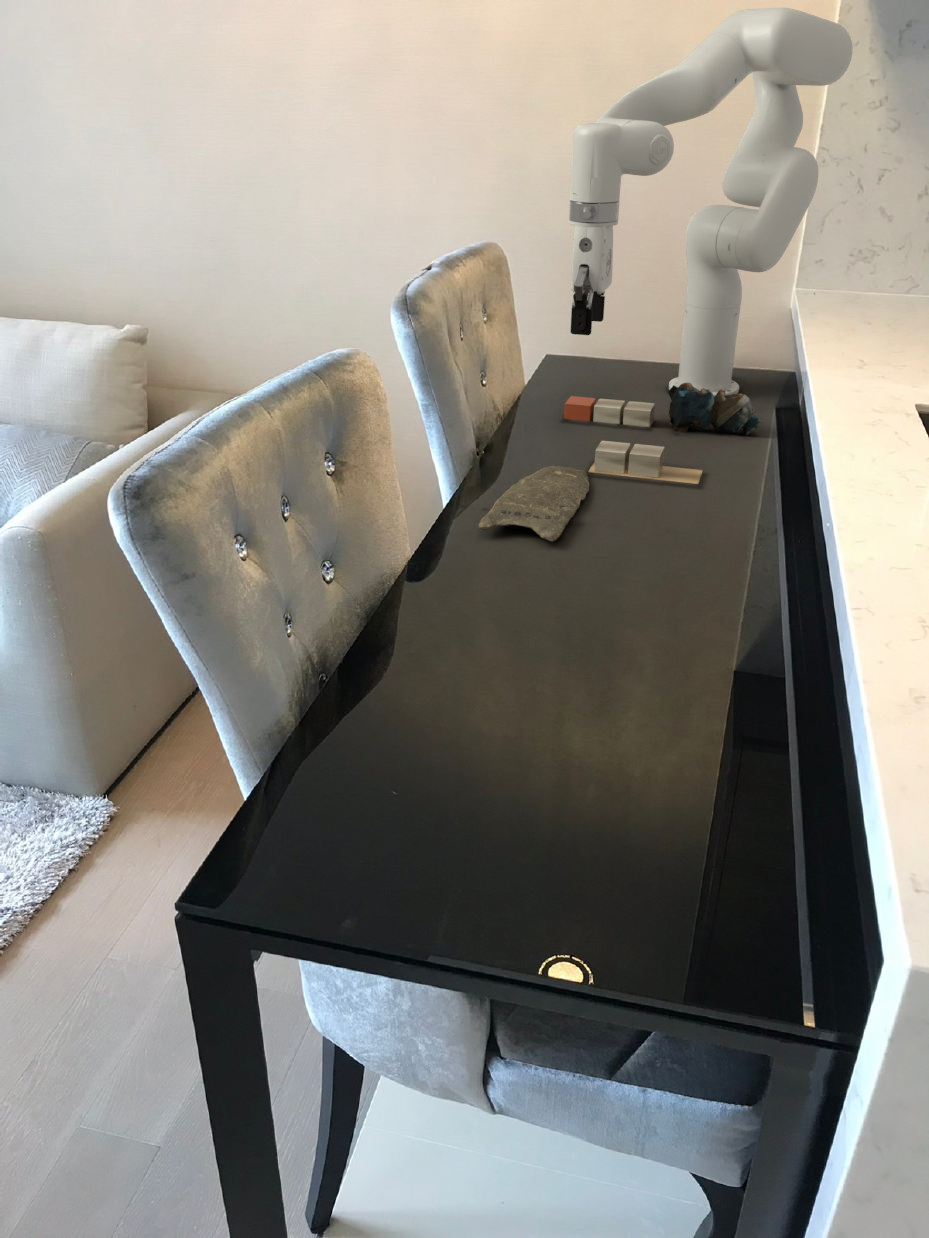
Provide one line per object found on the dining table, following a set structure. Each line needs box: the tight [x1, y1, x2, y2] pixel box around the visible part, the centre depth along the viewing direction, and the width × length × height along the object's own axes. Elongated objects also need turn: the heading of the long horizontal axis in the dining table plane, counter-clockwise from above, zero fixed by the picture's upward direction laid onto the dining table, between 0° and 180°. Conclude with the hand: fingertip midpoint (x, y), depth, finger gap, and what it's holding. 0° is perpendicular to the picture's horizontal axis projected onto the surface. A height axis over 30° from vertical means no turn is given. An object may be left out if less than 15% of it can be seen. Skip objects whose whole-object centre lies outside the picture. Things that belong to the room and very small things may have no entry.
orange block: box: [563, 395, 597, 422], centre depth 169 cm, size 4×4×3 cm
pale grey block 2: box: [622, 400, 656, 428], centre depth 166 cm, size 4×4×3 cm
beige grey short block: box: [592, 398, 626, 425], centre depth 168 cm, size 4×4×3 cm
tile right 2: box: [628, 443, 666, 478], centre depth 146 cm, size 4×4×3 cm
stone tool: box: [478, 465, 590, 542], centre depth 136 cm, size 11×3×25 cm
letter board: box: [588, 461, 704, 485], centre depth 147 cm, size 6×16×1 cm, turn 71°
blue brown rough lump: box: [668, 383, 762, 436], centre depth 161 cm, size 9×8×15 cm
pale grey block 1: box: [594, 440, 632, 474], centre depth 148 cm, size 4×4×3 cm
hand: (587, 327), depth 161 cm, fingers open, 9 cm apart
